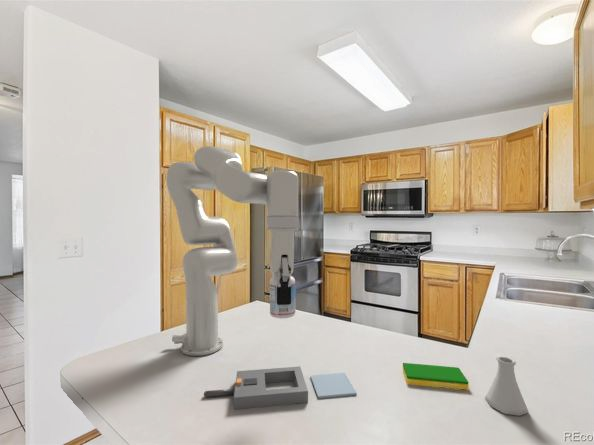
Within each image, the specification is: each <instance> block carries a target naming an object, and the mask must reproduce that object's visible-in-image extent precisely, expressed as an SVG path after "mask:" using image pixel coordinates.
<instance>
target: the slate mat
mask: <svg viewBox="0 0 594 445" xmlns="http://www.w3.org/2000/svg"><path fill="white" fill-rule="evenodd" d="M310 380H311V382H312V385H313V388H314V390H315V394H316V397H317V399H327V398H338V397H348V396H349V397H351V396H357V394H358V393H357V392H356V390H355V388H354V386H353V385H352V383H351V381H350V379H349V378H348V376H347V374H346V373H345V372H336V373H335V372H334V373H325V374H324V373H323V374H312V375H311V374H310Z"/></svg>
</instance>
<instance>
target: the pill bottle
mask: <svg viewBox="0 0 594 445" xmlns="http://www.w3.org/2000/svg"><path fill="white" fill-rule="evenodd" d="M290 270H291V268H290ZM280 273H282V271H280ZM292 274H293V273H291V274H290V283H291V304H290V305H277V287H278V272H275V274H272V275H273V276H272V277H271V278H270V279H269V314H270V315H269V316H271V317H273V318H276V319H289V318H292V317H294V316H295V314H296V279H295V277H294V276H292ZM281 277H282V276H280V278H281Z"/></svg>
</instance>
